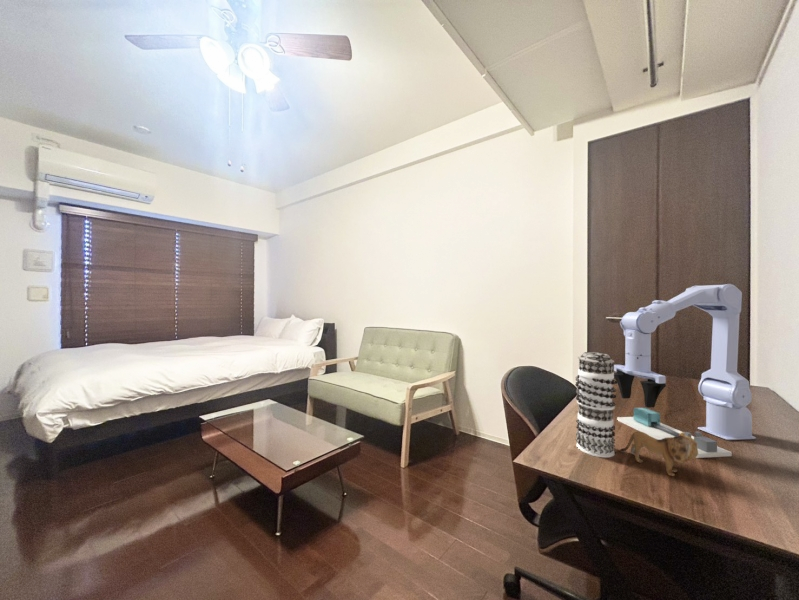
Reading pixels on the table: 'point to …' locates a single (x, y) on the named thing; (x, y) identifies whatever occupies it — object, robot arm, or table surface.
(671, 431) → the cable board
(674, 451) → the lion figurine
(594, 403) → the decorative candle
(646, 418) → the sleeve
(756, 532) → the table surface
